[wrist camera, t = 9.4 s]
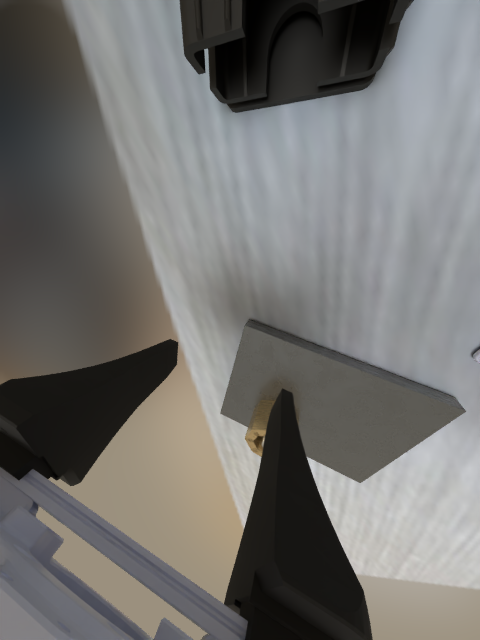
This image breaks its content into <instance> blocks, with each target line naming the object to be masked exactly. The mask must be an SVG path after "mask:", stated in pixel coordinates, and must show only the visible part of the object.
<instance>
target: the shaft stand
mask: <svg viewBox="0 0 480 640" xmlns="http://www.w3.org/2000/svg"><path fill="white" fill-rule="evenodd" d="M282 388H283V389H285V390H287V391H290V392H292V393H293V398H294V405H295V411H296V416H297V419H298V421H299V431H300V435H301V439H302V443H303V446H304V450H305V454H306V456H307V457H309V458H311V459H313V460H315V461H317V462H319V463H321V464H323V465H325V466H327V467H329V468H331V469H333V470H335V471H337V472H339V473H341V474H343V475H345V476H347V477H349V478H351V479H353V480H355V481H357V482H359V483H361V482H363V481H364V480H366V479H367V478H369V477H370V476H372V475H373V474H375V473H376V472H378V471H379V470H380V469H382V468H383V467H385V466H386V465H388V464H389V463H391V462H392V461H394V460H395V459H397V458H398V457H400V456H401V455H403V454H404V453H405V452H407V451H408V450H410V449H411V448H413V447H414V446H416V445H417V444H419V443H420V442H422V441H423V440H425V439H426V438H428V437H429V436H431V435H432V434H433V433H435V432H436V431H438V430H439V429H441V428H442V427H444V426H445V425H447V424H448V423H450V422H451V421H453V420H454V419H456V418H457V417H459V416H460V415H461V414H463V413H464V412H466V411H465V409H464V408H463V407H462V406H461V404H460V403H459V402H458V401H457V400H456V398H455V397H453V396H450V395H447V394H445V393H442V392H439V391H437V390H434V389H432V388H429V387H426V386H424V385H421V384H418V383H416V382H413V381H411V380H408V379H405V378H403V377H400V376H397V375H395V374H392V373H389V372H387V371H384V370H382V369H379V368H376V367H374V366H371V365H368V364H366V363H363V362H360V361H358V360H355V359H353V358H350V357H347V356H345V355H342V354H339V353H337V352H334V351H332V350H329V349H326V348H324V347H321V346H318V345H316V344H313V343H310V342H308V341H305V340H303V339H300V338H297V337H295V336H292V335H289V334H287V333H284V332H282V331H279V330H276V329H274V328H271V327H268V326H266V325H263V324H260V323H258V322H255V321H253V320H250V319H249V320H248V322H247V323H246V325H245V327H244V331H243V335H242V338H241V342H240V345H239V349H238V352H237V356H236V359H235V363H234V367H233V370H232V374H231V377H230V381H229V384H228V388H227V391H226V395H225V398H224V402H223V406H222V409H221V414H223V415H225V416H227V417H229V418H231V419H233V420H235V421H237V422H239V423H241V424H243V425H245V426H247V427H249V424H250V421H251V418H252V415H253V412H254V409H255V408H256V406H257V405H258V403H259V402H260V401H261V400H276V399H277V397H278V395H279V393H280V391H281V389H282ZM264 440H265V436H263V441H262V447H263V446H264Z"/></svg>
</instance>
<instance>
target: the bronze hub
mask: <svg viewBox="0 0 480 640" xmlns="http://www.w3.org/2000/svg"><path fill="white" fill-rule="evenodd" d="M275 401H276V400H261V401H260V402H259V403H258V405H257V406H256V408H255V409H254V412H253V415H252V418H251V421H250V424H249V427H248V430H247V433H246V436H245V440H246V441H247V443H248V445H249V447H250V449H251V450H252V451H253V452H254V453H256V454H257V455H259V456H261V457H262V452H263V447H262V441H263V436H265V434H266V428H267V423H268V420H269V416H270V412H271V409H272V407H273V405H274V403H275ZM296 417H297V416H296ZM297 422H298V426H299V421H298V419H297Z"/></svg>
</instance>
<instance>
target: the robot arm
mask: <svg viewBox="0 0 480 640" xmlns="http://www.w3.org/2000/svg"><path fill="white" fill-rule="evenodd" d="M177 353H178V342H176V341H174V340H171V339H169V340H167V341H164V342H162V343H159V344H157V345H154V346H152V347H150V348H147V349H144V350H142V351H139V352H137V353H134V354H131V355H128V356H125V357H122V358H119V359H116V360H113V361H110V362H106V363H103V364H99V365H95V366H91V367H87V368H82V369H78V370H73V371H68V372H62V373H57V374H50V375H44V376H36V377H28V378H20V379H11V380H8V381H7V382H5V383H3V384H1V385H0V640H193V639H192V638H191V637H189V636H188V635H187V634H185V633H184V632H183V631H181V630H180V629H179V628H178V627H176V626H175V625H174V624H172V623H171V622H170V621H169V620H167V619H166V618H163V619H162V620H161V623H160V625H159V627H158V630H157V633H156V635H155V638H154V639H153V638H151V637H150V636H149V635H148V634H147V633H146V632H144V631H143V630H142V629H141V628H140V627H138V626H137V625H136V624H135V623H134V622H132V621H131V620H130V619H129V618H128V617H126V616H125V615H124V614H123V613H122V612H121V611H119V610H118V609H117V608H116V607H115V606H113V605H112V604H111V603H110V602H108V601H107V600H106V599H105V598H103V597H102V596H101V595H100V594H98V593H97V592H96V591H95V590H93V589H92V588H91V587H89V586H88V585H87V584H86V583H84V582H83V581H82V580H81V579H79V578H78V577H76V576H75V575H74V574H73V573H72V572H70V571H69V570H68V569H66V568H65V567H64V566H63V565H61V564H60V563H59V562H57V561H56V560H55V559H53V558H52V556H53V554H54V553H55V552H56V551H57V550H58V548H59V547H60V546H61V544H62V543H63V538H61V537H60V536H59V535H57V534H56V533H55V532H54V531H52V530H51V529H50V528H49V527H47V526H46V525H45V524H43V523H42V522H41V521H40V520H38V519H37V518H36V513H37V511H38V506H40V507H41V508H42V509H44V510H45V511H46V512H48V513H49V514H50V515H52V516H53V517H54V518H56V519H57V520H58V521H60V522H61V523H62V524H63V525H65V526H66V527H67V528H69V529H70V530H72V531H73V532H74V533H75V534H77V535H78V536H79V537H81V538H82V539H83V540H85V541H86V542H87V543H89V544H90V545H91V546H93V547H94V548H95V549H97V550H98V551H100V552H101V553H102V554H103V555H105V556H106V557H107V558H109V559H110V560H111V561H112V562H114V563H115V564H116V565H118V566H119V567H121V568H122V569H123V570H124V571H126V572H127V573H128V574H130V575H131V576H132V577H134V578H135V579H136V580H138V581H139V582H140V583H142V584H143V585H144V586H146V587H147V588H148V589H150V590H151V591H152V592H154V593H155V594H156V595H158V596H159V597H160V598H162V599H163V600H164V601H166V602H167V603H168V604H170V605H171V606H172V607H173V608H175V609H176V610H177V611H179V612H180V613H181V614H183V615H184V616H185V617H187V618H188V619H189V620H191V621H192V622H193V623H195V624H196V625H197V626H199V627H200V628H201V629H203V630H204V631H205V632H207V633H208V634H209V635H208V634H207V635H205V636H203V638H202V639H201V640H372V633H371V626H370V620H369V615H368V609H367V605H366V601H365V595H364V591H363V589H362V587H361V585H360V583H359V581H358V579H357V577H356V574H355V572H354V570H353V568H352V566H351V564H350V562H349V560H348V558H347V556H346V554H345V552H344V550H343V548H342V545H341V543H340V541H339V539H338V537H337V534H336V532H335V530H334V528H333V525H332V523H331V521H330V518H329V516H328V514H327V511H326V509H325V506H324V504H323V501H322V499H321V497H320V494H319V492H318V489H317V486H316V483H315V481H314V478H313V475H312V472H311V469H310V466H309V463H308V460H307V457H306V454H305V450H304V446H303V443H302V439H301V435H300V431H299V426H298V422H297V417H296V411H295V405H294V398H293V393H292V392H290V391H287V390H285V389H283V388H282V389H281V391H280V393H279V395H278V397H277V399H276V401H275V403H274V405H273V407H272V409H271V412H270V416H269V420H268V423H267V428H266V434H265V440H264V446H263V452H262V458H261V464H260V469H259V474H258V478H257V482H256V486H255V490H254V494H253V498H252V502H251V506H250V510H249V513H248V517H247V521H246V525H245V528H244V532H243V536H242V539H241V543H240V547H239V550H238V554H237V557H236V561H235V564H234V568H233V571H232V575H231V578H230V582H229V586H228V589H227V593H226V598H225V602H224V604H223V603H221V602H220V601H219V600H217V599H216V598H214V597H213V596H212V595H210V594H209V593H207V592H206V591H205V590H203V589H202V588H200V587H199V586H197V585H196V584H195V583H193V582H192V581H190V580H189V579H188V578H186V577H185V576H183V575H182V574H180V573H179V572H178V571H176V570H175V569H173V568H172V567H171V566H169V565H168V564H166V563H165V562H164V561H162V560H161V559H159V558H158V557H156V556H155V555H153V554H152V553H151V552H150V551H148V550H147V549H145V548H144V547H142V546H141V545H140V544H138V543H137V542H135V541H134V540H132V539H131V538H130V537H128V536H127V535H125V534H124V533H123V532H121V531H120V530H118V529H117V528H116V527H114V526H113V525H111V524H110V523H108V522H107V521H106V520H104V519H103V518H101V517H100V516H99V515H97V514H96V513H94V512H93V511H92V510H90V509H89V508H87V507H86V506H85V505H83V504H82V503H80V502H79V501H78V500H76V499H75V498H73V497H72V496H70V495H69V494H68V493H66V492H65V491H63V490H62V489H61V488H59V487H58V486H56V485H55V484H54V483H52V482H51V481H49V480H48V479H49V478H50V477H52V478H54V479H55V480H58V479H61V480H63V481H64V482H66V483H67V484H69V485H70V486H74V485H76V484H78V483H80V482H81V481H82V480H83V478H84V477H85V475H86V474H87V473H88V471H89V470H90V468H91V467H92V466H93V464H94V463H95V461H96V460H97V458H98V457H99V456H100V454H101V453H102V452H103V450H104V449H105V448H106V446H107V445H108V444H109V442H110V441H111V440H112V438H113V437H114V436H115V434H116V433H117V432H118V431H119V429H120V428H121V427H122V426H123V424H124V423H125V422H126V421H127V419H128V418H129V417H130V416H131V415H132V413H133V412H134V411H135V410H136V409H137V407H138V406H139V405H140V404H141V403H142V402H143V401H144V400H145V399H146V398H147V397H148V396H149V395H150V394H151V393H152V392H153V391H154V390H155V389H156V388H157V387H158V386H159V385H160V384H161V383H162V382H163V381H164V380H165V379H166V378H167V377H168V375H169V374H170V373H171V371H172V370H173V369H174V367H175V366H176V365H177ZM473 359H474V360H475V361H476V362H478V363H480V349H479V350H478V351H477V352H476V353H475V354H474V355H473Z"/></svg>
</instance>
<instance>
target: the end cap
mask: <svg viewBox="0 0 480 640" xmlns="http://www.w3.org/2000/svg"><path fill="white" fill-rule="evenodd" d="M413 1H414V0H180V10H181V22H182V34H183V46H184V55H185V57H186V59H187V60H188V61H189V63H190V64H191V65H192V66H193V68H194V69H195V70H196V72H197V73H198V74H202V73H205V56H204V49H207V48H208V54H209V76H210V90H211V91H212V92H213V94H214V95H215V96H216V98H217V99H218V100H219V101H220V102H222V103H225V104H228V106H229V107H230V109H231V110H232V111H233V112H236V113H237V112H243V111H248V110H254V109H259V108H265V107H270V106H276V105H281V104H287V103H293V102H298V101H304V100H309V99H315V98H320V97H326V96H331V95H337V94H342V93H348V92H353V91H359V90H363V89H365V88H367V87H368V86H369V85H370V83H371V82H372V81H373V79H374V77H375V74H376V72H377V71H378V70H379V69H380V68H381V67H382V65H383V62H384V60H385V58H386V56H387V55H388V54H389V53H390V52H391V50H392V49H393V47H394V45H395V41H396V37H397V33H398V29H399V25H400V21H401V20H402V18H403V15H404V13H405V11H406V9H407V8H408V7H409V6H410V5H411V3H412V2H413Z"/></svg>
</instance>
